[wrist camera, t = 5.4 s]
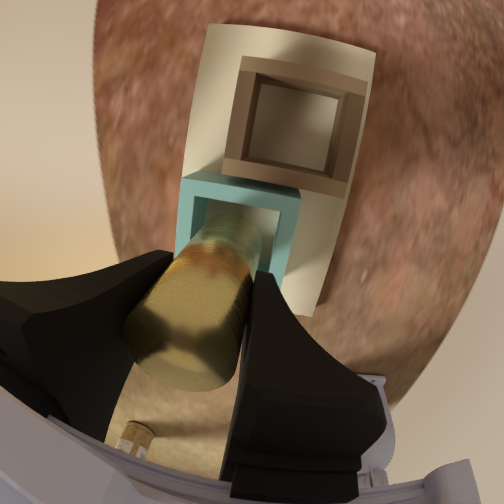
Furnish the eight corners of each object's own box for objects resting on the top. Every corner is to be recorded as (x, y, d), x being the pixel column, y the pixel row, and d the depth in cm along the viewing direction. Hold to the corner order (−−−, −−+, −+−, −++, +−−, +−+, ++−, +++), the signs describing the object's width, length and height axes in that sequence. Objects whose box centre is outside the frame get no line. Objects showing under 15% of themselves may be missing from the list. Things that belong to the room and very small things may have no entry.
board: (371, 56, 13) (375, 52, 12) (311, 309, 20) (311, 316, 19) (212, 28, 13) (208, 23, 12) (178, 281, 20) (173, 288, 20)
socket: (298, 188, 16) (301, 199, 13) (278, 278, 18) (276, 304, 16) (198, 170, 16) (181, 177, 13) (189, 260, 19) (173, 281, 16)
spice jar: (127, 416, 31) (91, 492, 18) (157, 430, 31) (127, 509, 19) (125, 427, 32) (93, 496, 20) (153, 440, 33) (126, 511, 20)
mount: (353, 91, 13) (368, 81, 10) (333, 188, 16) (343, 199, 13) (249, 69, 13) (242, 55, 11) (232, 167, 16) (221, 173, 13)
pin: (268, 220, 14) (247, 323, 6) (254, 277, 15) (227, 402, 7) (204, 206, 14) (119, 287, 6) (196, 264, 15) (128, 372, 8)
